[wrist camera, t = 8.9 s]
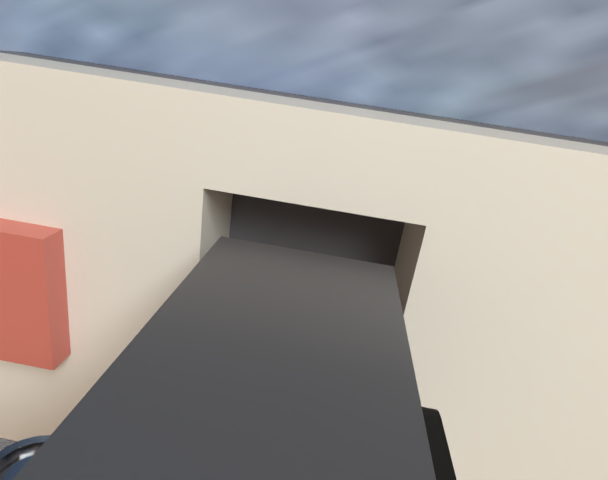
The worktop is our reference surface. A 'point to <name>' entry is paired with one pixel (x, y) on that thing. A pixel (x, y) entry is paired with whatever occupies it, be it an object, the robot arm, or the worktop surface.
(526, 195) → the power strip
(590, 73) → the worktop surface
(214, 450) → the plug
